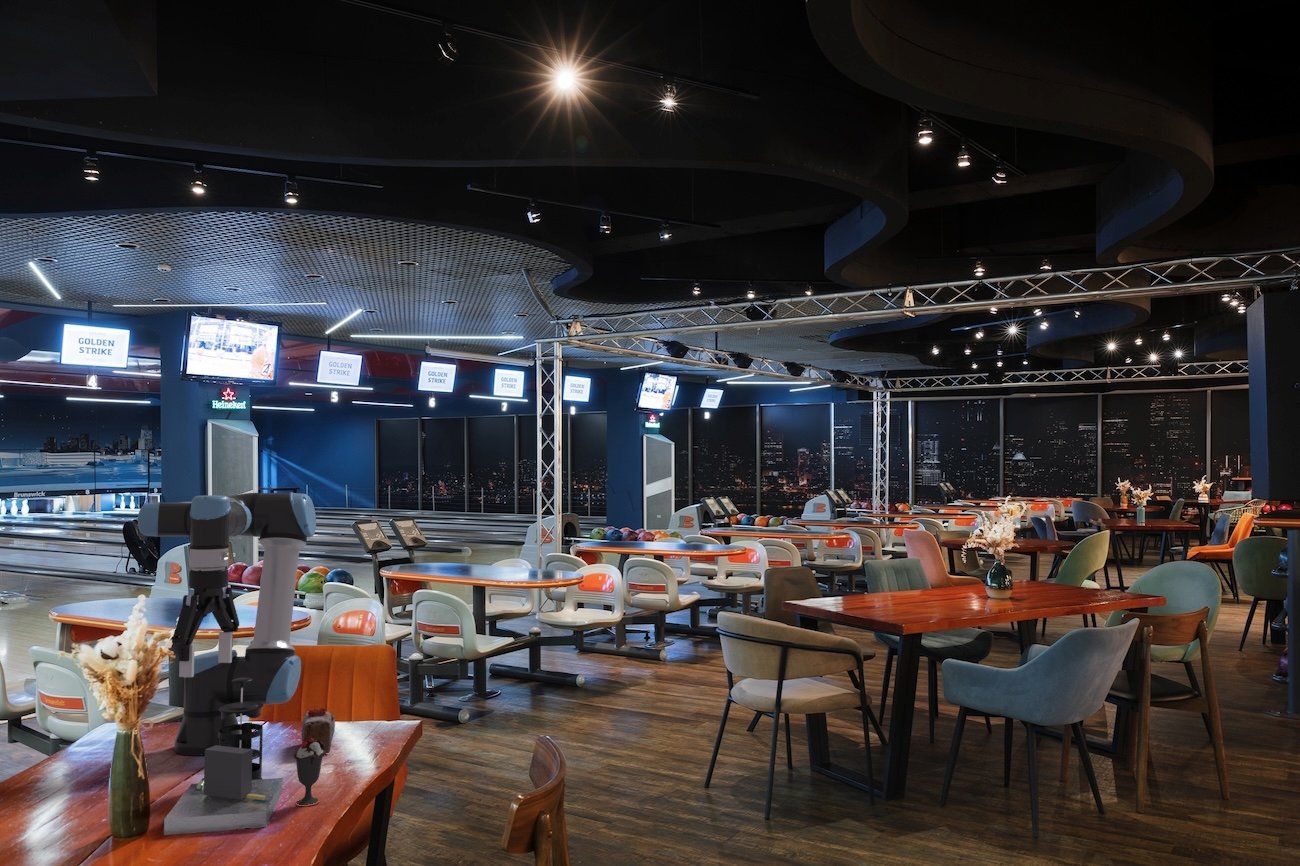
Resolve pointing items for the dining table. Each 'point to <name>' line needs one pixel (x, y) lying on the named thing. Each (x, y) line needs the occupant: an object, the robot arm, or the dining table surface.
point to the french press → (243, 727)
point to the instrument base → (222, 809)
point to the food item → (319, 727)
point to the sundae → (309, 766)
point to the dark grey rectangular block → (229, 773)
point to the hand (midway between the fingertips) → (206, 669)
